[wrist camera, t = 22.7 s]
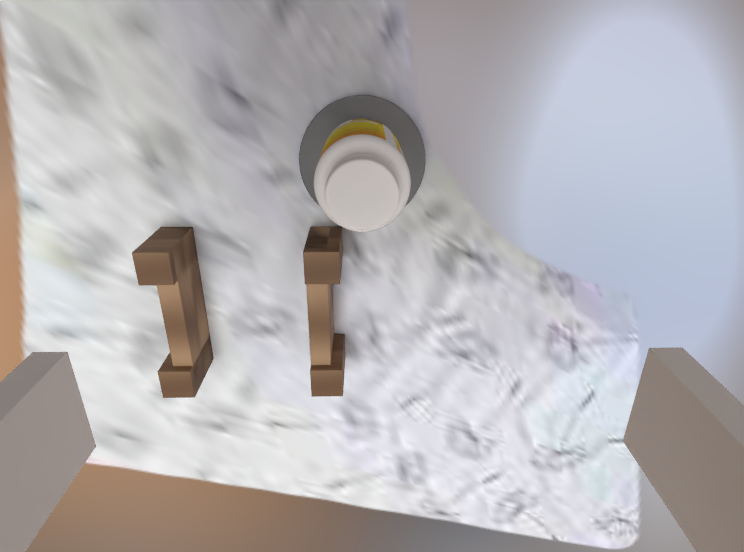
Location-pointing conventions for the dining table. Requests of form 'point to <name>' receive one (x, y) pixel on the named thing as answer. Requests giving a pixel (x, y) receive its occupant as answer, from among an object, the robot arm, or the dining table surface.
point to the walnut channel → (189, 320)
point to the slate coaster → (370, 110)
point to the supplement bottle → (362, 176)
